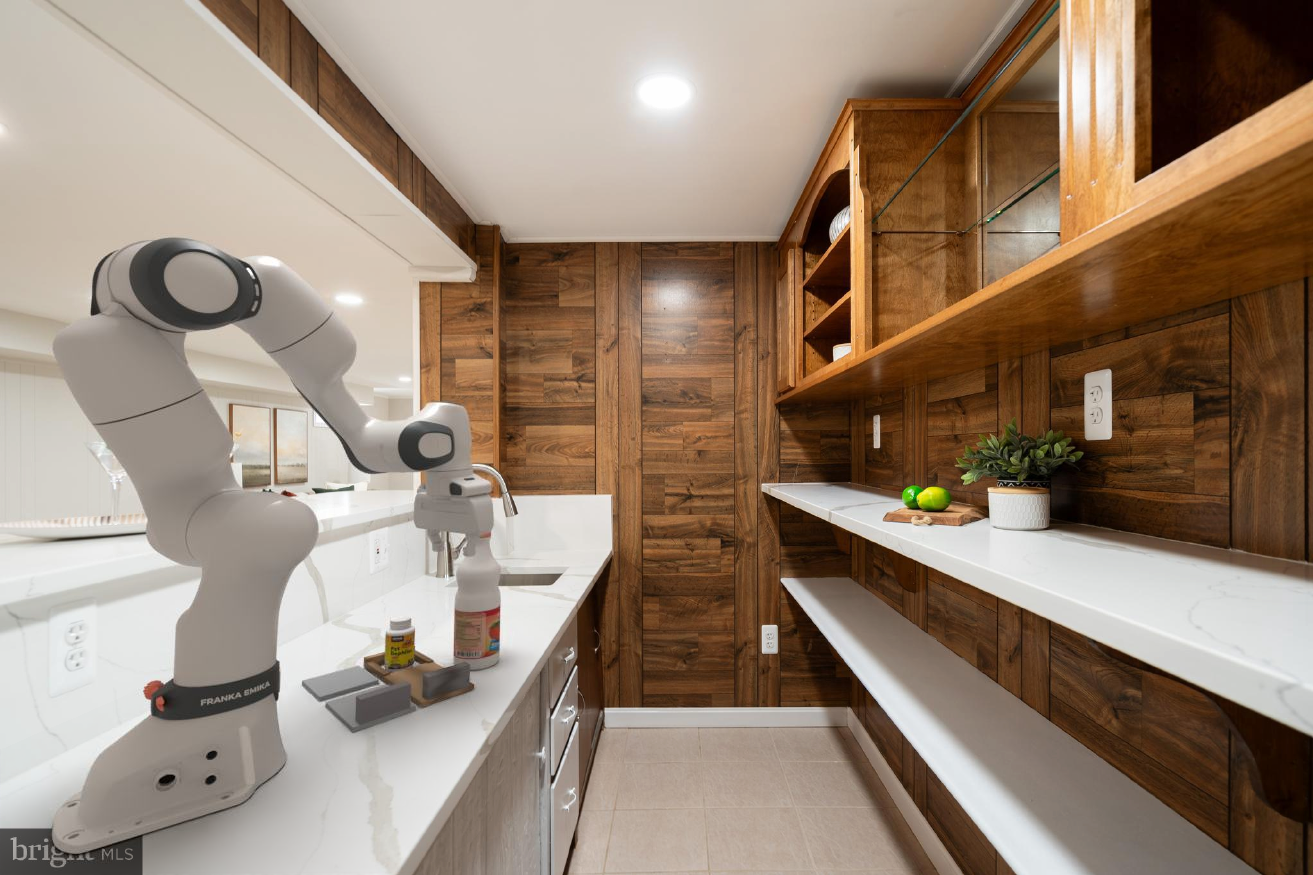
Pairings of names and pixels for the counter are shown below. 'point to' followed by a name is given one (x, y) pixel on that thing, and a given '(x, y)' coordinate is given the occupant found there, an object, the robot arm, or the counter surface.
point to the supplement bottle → (399, 644)
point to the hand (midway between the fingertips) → (453, 553)
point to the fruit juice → (477, 608)
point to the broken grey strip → (345, 687)
